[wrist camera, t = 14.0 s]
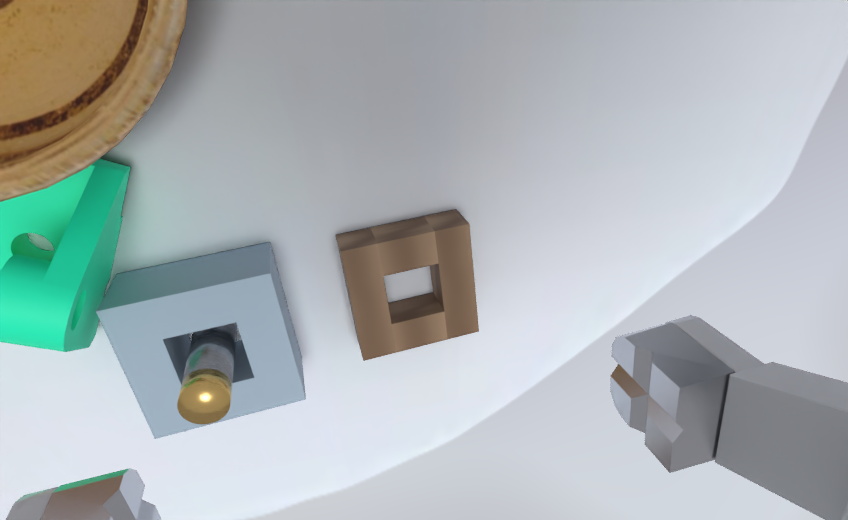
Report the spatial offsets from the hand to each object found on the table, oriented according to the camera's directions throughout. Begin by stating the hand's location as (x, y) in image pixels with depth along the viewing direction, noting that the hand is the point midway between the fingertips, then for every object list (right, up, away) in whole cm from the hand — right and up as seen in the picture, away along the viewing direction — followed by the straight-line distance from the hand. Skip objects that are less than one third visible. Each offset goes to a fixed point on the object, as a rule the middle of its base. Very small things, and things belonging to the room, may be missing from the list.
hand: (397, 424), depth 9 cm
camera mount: (-23, +5, +25) cm, 34 cm away
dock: (-14, -1, +30) cm, 33 cm away
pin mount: (-1, +2, +32) cm, 32 cm away
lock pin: (-14, -1, +30) cm, 33 cm away
